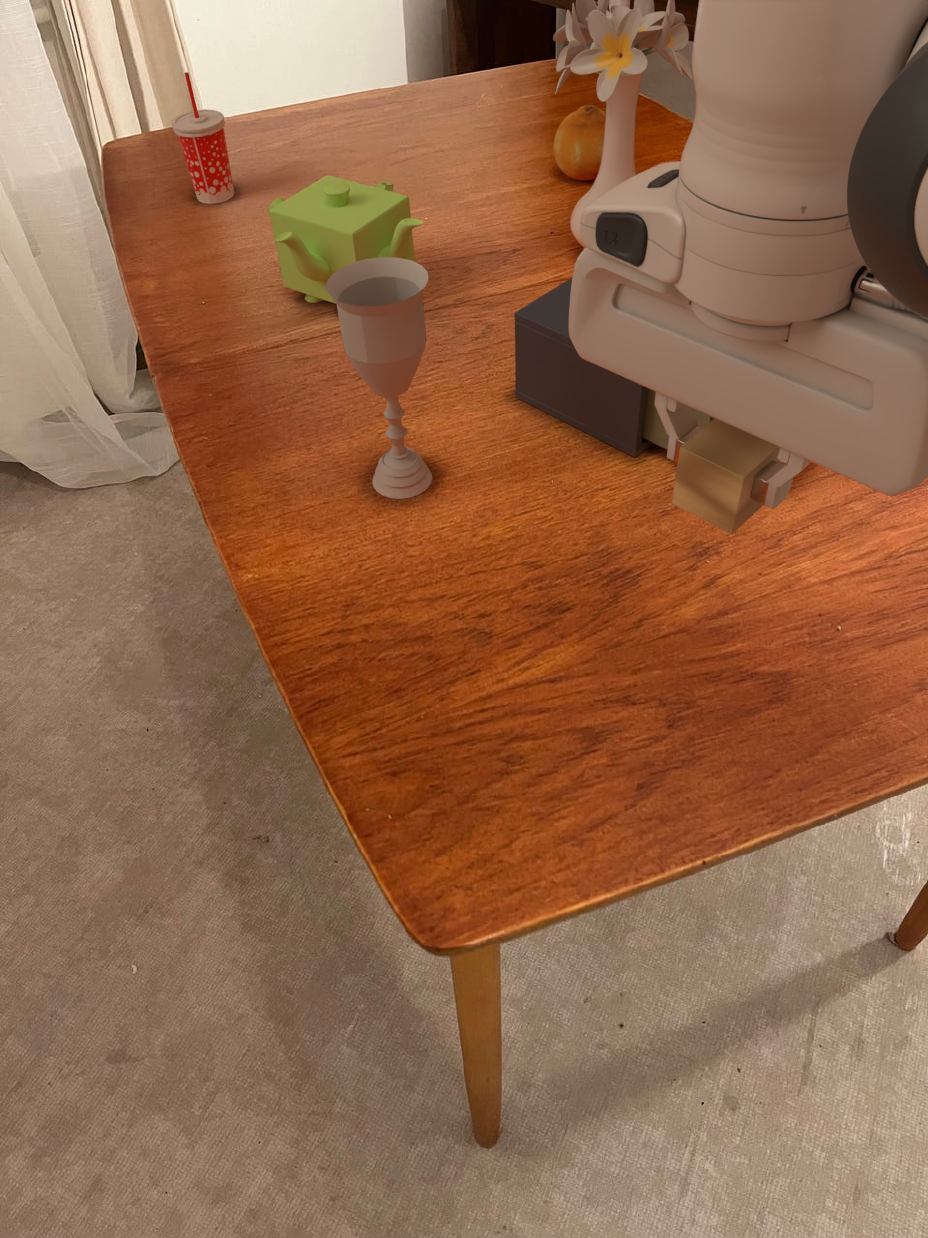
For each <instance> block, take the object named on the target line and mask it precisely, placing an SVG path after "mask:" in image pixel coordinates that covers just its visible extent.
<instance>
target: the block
mask: <svg viewBox="0 0 928 1238" xmlns="http://www.w3.org/2000/svg"><path fill="white" fill-rule="evenodd" d="M779 450H780V447H778V446H776V445H774V444H771V443H769V442H767V441H765V440H762V439H760V438H758V437H756V436H754V435H751V434H749V433H747V432H745V431H742V430H740V429H738V428H736V427H734V426H731V425H729V424H727V423H725V422H722V421H720V420H718V419H716V418H715V419H714V420H712V421H711V422H710V423H709V424H708V425H706V426H705V427H704V428H703V429H702V430H700V431H699V432H698V433H697V434H695V435H694V436H693V437H692V438H691V439H689V440H688V441H687V442H686V443H685V444H683V445H682V446H681V447H680V450H679V457H678V463H676V464H677V465H676V471H675V479H674V484H673V485H674V486H673V493H672V498H671V504H672V505H674V506H676V507H678V508H679V509H681V510H683V511H686V512H687V513H690V514H691V515H693V516H695V517H697V518H699V519H701V520H703V521H704V522H707V523H709V524H711V525H713V526H714V527H716V528H718V529H720V530H722V531H725V532H726V533H728V534H730V535H733V534H734V533H735V532H737V530H739V529H740V528H741V527H742V526H743V525H744V524H745V523H746V522H748V520H749V519H751V518H752V516H754V515H755V514H756V513H757V512H758V511H759V510H760V509H761V508H762V507H763V506H764V505H763V504H761V503H759V502H757V501H755V500H753V499H751V498H750V494H751V491H752V490H753V488H752V485H753V480H754V476H755V475H756V474H757V473H759V472H760V471H761V470H762V469H764V468H765V466H766V465H767V464H768V463H770V462H771V461H772V460H773V461H776V462H778V463H780V464H781V461H779V459H778V455H779Z"/></svg>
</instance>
